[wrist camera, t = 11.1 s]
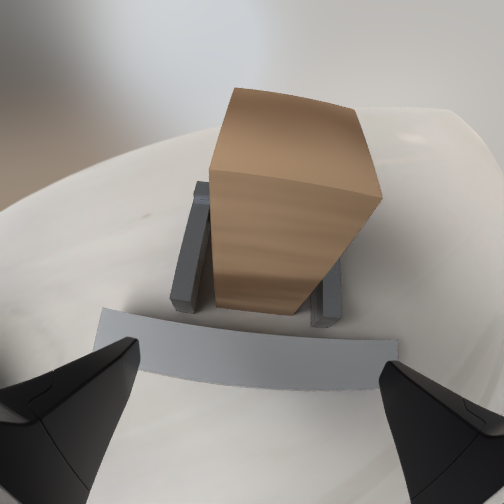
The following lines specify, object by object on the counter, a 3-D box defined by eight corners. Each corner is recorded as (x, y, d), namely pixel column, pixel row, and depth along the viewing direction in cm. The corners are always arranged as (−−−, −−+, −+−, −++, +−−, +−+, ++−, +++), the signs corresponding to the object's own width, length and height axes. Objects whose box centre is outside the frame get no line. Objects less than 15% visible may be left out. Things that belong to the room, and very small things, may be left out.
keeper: (327, 327, 17) (348, 313, 15) (176, 310, 17) (166, 292, 14) (324, 224, 22) (338, 197, 19) (199, 207, 21) (196, 177, 18)
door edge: (378, 388, 16) (398, 386, 13) (108, 361, 15) (91, 356, 13) (378, 347, 17) (397, 339, 15) (116, 318, 16) (102, 307, 14)
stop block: (291, 315, 18) (382, 198, 7) (215, 307, 18) (208, 169, 7) (294, 249, 20) (354, 109, 10) (226, 241, 20) (234, 87, 10)
